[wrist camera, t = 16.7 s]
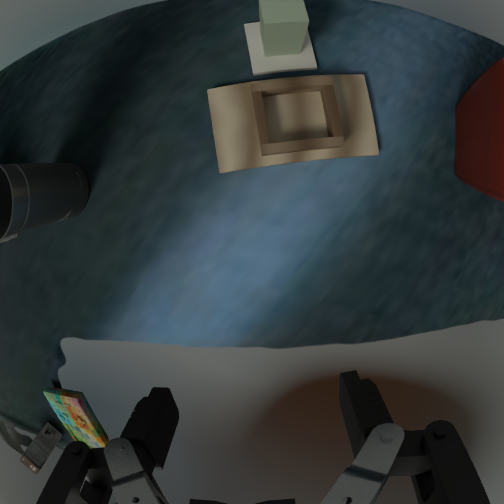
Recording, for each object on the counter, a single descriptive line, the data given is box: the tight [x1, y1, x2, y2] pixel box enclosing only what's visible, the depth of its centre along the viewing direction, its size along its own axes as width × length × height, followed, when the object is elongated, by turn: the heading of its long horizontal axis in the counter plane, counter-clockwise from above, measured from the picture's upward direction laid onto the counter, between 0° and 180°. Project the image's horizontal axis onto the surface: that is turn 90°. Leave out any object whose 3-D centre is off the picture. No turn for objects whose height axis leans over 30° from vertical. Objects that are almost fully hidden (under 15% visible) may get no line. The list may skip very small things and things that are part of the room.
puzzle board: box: [207, 74, 379, 173], centre depth 34 cm, size 22×12×4 cm, turn 99°
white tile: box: [244, 22, 317, 75], centre depth 33 cm, size 9×9×1 cm
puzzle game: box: [44, 388, 109, 448], centre depth 52 cm, size 12×5×20 cm
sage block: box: [259, 0, 309, 57], centre depth 28 cm, size 5×4×10 cm
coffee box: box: [20, 422, 63, 474], centre depth 50 cm, size 9×6×16 cm
